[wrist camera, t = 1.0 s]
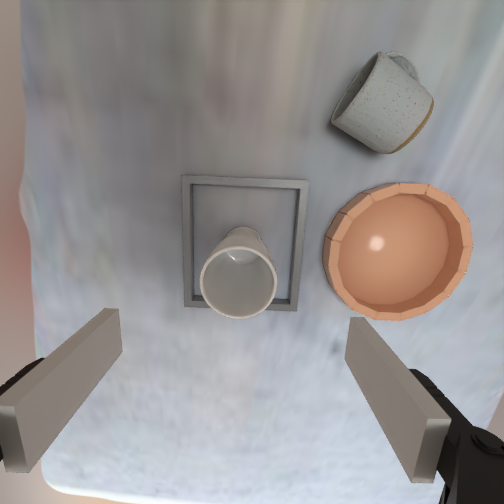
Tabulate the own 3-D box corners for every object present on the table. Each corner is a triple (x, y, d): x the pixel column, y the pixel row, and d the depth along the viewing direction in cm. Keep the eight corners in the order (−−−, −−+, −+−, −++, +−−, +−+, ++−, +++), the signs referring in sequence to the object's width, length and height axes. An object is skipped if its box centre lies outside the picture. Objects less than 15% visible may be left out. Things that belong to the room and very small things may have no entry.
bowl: (331, 180, 34) (338, 180, 31) (468, 187, 35) (488, 187, 32) (316, 307, 39) (321, 317, 36) (438, 312, 39) (453, 322, 36)
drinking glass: (219, 219, 36) (197, 243, 21) (268, 221, 36) (280, 246, 21) (219, 267, 37) (198, 319, 23) (266, 268, 37) (276, 321, 23)
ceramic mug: (376, 162, 34) (412, 154, 26) (323, 129, 33) (345, 111, 25) (425, 81, 32) (480, 48, 24) (370, 44, 31) (410, -3, 23)
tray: (185, 175, 34) (181, 174, 32) (306, 181, 34) (309, 180, 33) (187, 301, 39) (184, 306, 37) (294, 305, 39) (296, 311, 37)
